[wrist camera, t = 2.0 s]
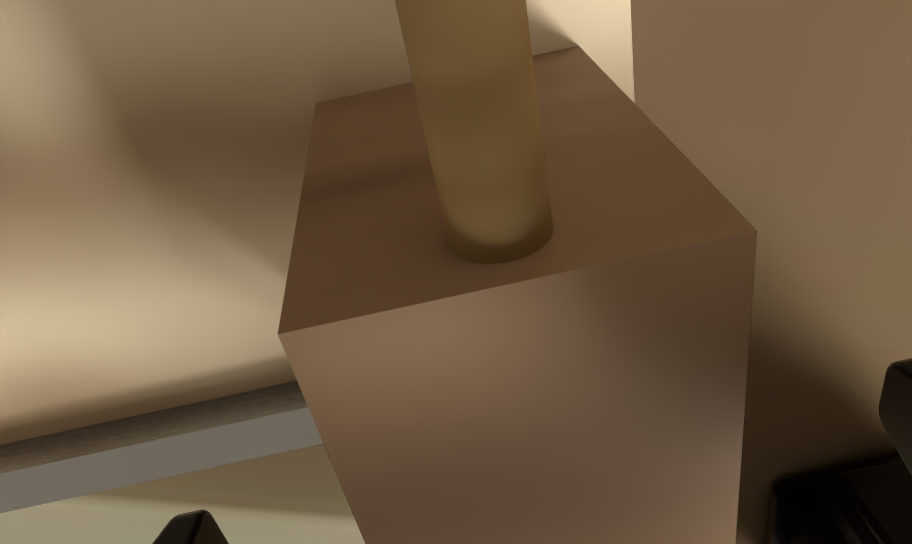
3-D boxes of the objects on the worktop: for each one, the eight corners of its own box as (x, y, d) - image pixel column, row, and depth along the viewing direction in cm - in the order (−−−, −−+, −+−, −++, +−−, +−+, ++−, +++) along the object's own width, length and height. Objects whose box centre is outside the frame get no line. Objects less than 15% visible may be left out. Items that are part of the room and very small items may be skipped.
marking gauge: (600, 301, 16) (733, 571, 10) (390, 346, 16) (406, 641, 10) (557, -213, 11) (789, -254, 5) (240, -143, 11) (95, -100, 5)
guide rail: (644, 344, 17) (658, 371, 16) (-226, 532, 17) (-256, 567, 16) (643, 305, 16) (657, 331, 16) (-262, 501, 17) (-295, 537, 16)
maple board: (619, 304, 19) (644, 350, 17) (-169, 473, 19) (-220, 536, 17) (575, -386, 11) (612, -422, 10) (-750, -91, 11) (-943, -76, 10)
